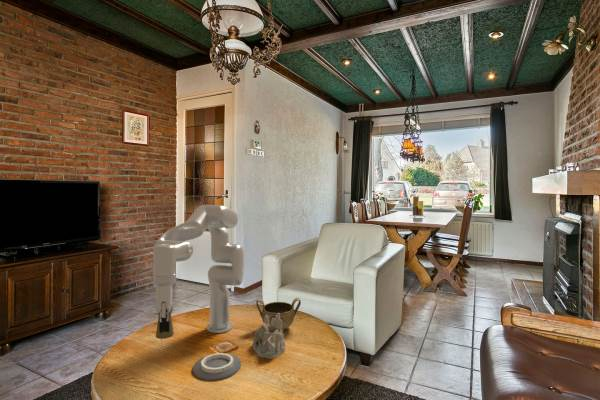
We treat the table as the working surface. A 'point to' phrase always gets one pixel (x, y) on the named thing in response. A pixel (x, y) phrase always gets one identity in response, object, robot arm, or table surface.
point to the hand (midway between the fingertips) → (164, 328)
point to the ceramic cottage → (270, 338)
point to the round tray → (216, 366)
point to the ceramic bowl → (279, 311)
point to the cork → (164, 334)
